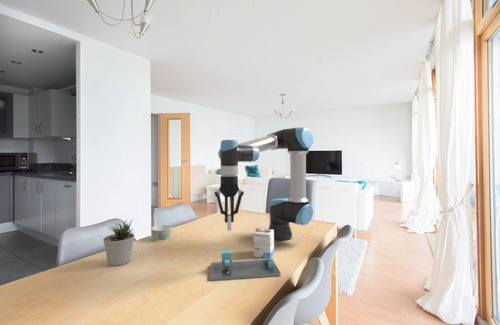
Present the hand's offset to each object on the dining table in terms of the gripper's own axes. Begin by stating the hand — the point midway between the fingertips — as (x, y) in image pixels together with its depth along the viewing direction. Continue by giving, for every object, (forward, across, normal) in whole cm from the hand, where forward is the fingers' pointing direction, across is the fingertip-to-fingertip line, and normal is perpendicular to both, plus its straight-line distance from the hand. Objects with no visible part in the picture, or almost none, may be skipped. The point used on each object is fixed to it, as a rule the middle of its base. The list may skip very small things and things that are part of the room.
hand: (229, 229), depth 108 cm
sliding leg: (+15, +1, +3) cm, 15 cm away
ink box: (+17, -18, -12) cm, 27 cm away
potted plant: (+17, +49, -12) cm, 53 cm away
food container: (+17, +37, -45) cm, 61 cm away
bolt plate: (+16, -6, +4) cm, 18 cm away
